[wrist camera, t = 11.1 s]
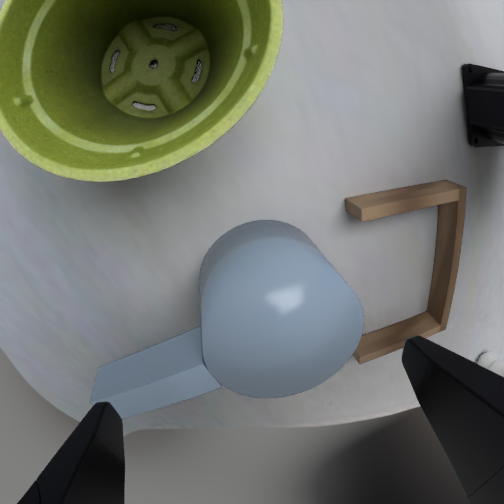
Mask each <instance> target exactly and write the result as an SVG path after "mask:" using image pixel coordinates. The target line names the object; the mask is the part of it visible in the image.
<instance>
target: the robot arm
mask: <svg viewBox="0 0 504 504" xmlns="http://www.w3.org/2000/svg"><path fill="white" fill-rule="evenodd" d="M462 70H463V77H464V85H465V94H466V104H467V117H468V136H469V144H470V145H471V146H474V147H485V146H504V71H500V70H496V69H491V68H487V67H483V66H478V65H473V64H464V65H463V67H462ZM468 70H469V71H468ZM402 363H403V366H404V368H405V371H406V373H407V375H408V378H409V380H410V382H411V385H412V387H413V390H414V392H415V394H416V397H417V399H418V401H419V404H420V405H421V407H422V409H423V411H424V413H425V415H426V417H427V418H428V420H429V422H430V424H431V426H432V428H433V430H434V432H435V434H436V436H437V437H438V439H439V441H440V443H441V445H442V447H443V449H444V451H445V453H446V455H447V457H448V459H449V461H450V463H451V465H452V467H453V469H454V471H455V473H456V475H457V478H458V480H459V482H460V484H461V486H462V488H463V490H464V492H465V495H466V497H467V499H468V502H469V504H504V377H503V376H501V375H499V374H497V373H495V372H493V371H491V370H488V369H486V368H484V367H482V366H480V365H478V364H476V363H474V362H472V361H470V360H468V359H466V358H464V357H462V356H460V355H458V354H456V353H454V352H452V351H450V350H448V349H446V348H444V347H442V346H440V345H438V344H436V343H434V342H432V341H430V340H428V339H426V338H424V337H422V336H419V335H416V336H413V337H410V338H408V339H407V340H406V341H405V345H404V349H403V354H402ZM124 482H125V458H124V443H123V424H122V419H121V417H120V415H119V414H118V413H117V411H116V410H115V409H114V407H113V406H112V404H111V403H110V402H107V401H104V402H97V403H95V404H94V406H93V407H92V408H91V409H90V411H89V412H88V413H87V414H86V416H85V417H84V418H83V419H82V421H81V422H80V423H79V425H78V426H77V427H76V428H75V430H74V431H73V432H72V433H71V435H70V436H69V437H68V439H67V440H66V441H65V442H64V444H63V445H62V446H61V448H60V449H59V450H58V452H57V453H56V454H55V455H54V457H53V458H52V459H51V461H50V462H49V463H48V465H47V466H46V467H45V469H44V470H43V471H42V472H41V474H40V475H39V476H38V478H37V481H35V482H34V483H33V484H32V486H31V487H30V488H29V490H28V491H27V492H26V493H25V495H24V496H23V497H22V498H21V500H20V501H19V502H18V503H17V504H124V484H125V483H124Z"/></svg>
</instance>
